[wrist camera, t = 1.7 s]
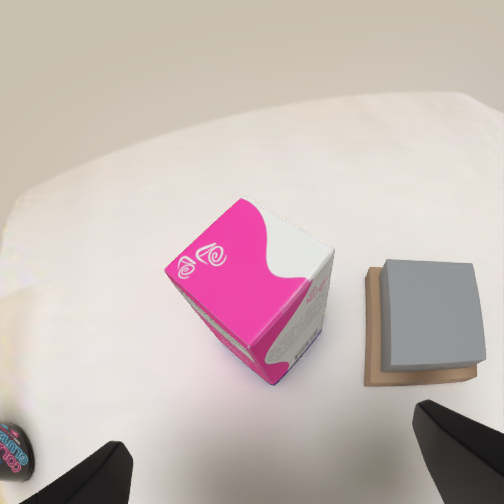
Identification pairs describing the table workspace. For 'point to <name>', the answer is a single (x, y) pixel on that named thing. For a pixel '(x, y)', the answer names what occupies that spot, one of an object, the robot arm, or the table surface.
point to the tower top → (429, 316)
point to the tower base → (374, 349)
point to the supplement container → (14, 454)
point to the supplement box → (257, 286)
